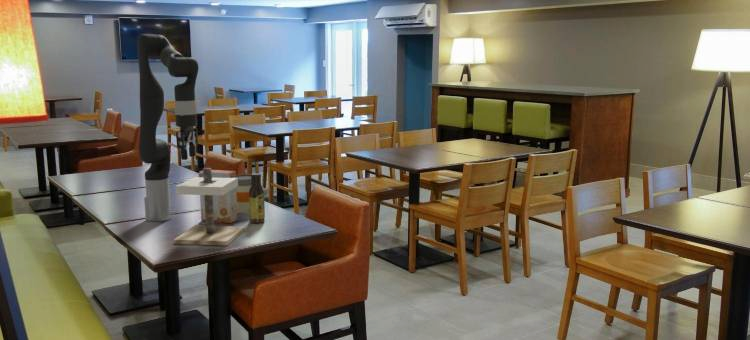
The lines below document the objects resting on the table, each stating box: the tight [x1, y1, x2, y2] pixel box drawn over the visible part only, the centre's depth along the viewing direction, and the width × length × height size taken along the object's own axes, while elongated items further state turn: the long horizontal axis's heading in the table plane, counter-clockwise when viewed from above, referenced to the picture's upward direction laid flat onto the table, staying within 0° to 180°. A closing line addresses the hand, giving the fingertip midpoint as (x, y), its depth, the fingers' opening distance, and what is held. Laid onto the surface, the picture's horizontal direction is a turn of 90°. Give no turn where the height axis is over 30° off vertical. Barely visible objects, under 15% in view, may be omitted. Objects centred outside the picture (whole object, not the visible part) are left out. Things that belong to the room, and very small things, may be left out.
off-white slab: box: [175, 176, 238, 196], centre depth 232 cm, size 17×17×3 cm
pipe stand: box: [173, 167, 246, 246], centre depth 233 cm, size 20×20×26 cm
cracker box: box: [198, 169, 239, 224], centre depth 257 cm, size 14×6×21 cm, turn 71°
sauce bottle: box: [248, 172, 266, 224], centre depth 255 cm, size 7×6×20 cm
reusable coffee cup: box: [236, 173, 252, 214], centre depth 274 cm, size 13×13×15 cm
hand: (188, 157), depth 231 cm, fingers open, 7 cm apart
